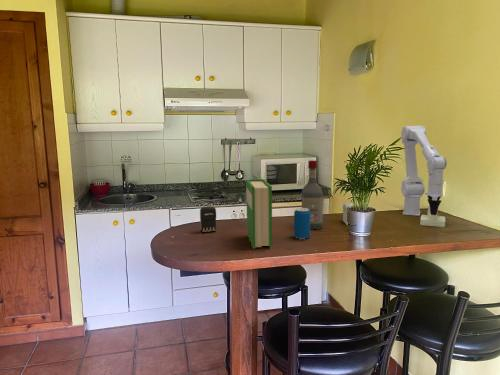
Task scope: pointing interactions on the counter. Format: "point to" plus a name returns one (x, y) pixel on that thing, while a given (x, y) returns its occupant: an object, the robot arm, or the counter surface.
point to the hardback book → (259, 212)
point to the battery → (208, 217)
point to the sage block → (433, 221)
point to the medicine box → (345, 212)
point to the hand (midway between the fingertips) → (433, 212)
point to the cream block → (431, 215)
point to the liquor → (313, 198)
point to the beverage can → (302, 223)
